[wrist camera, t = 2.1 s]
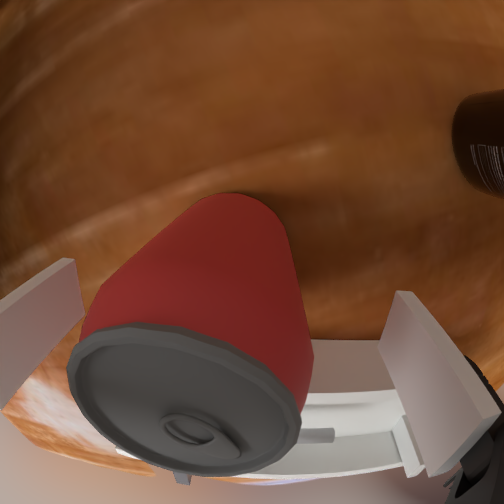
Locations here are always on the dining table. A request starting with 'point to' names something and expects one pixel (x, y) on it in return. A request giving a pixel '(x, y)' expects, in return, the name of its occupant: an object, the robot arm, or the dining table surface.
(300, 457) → the white open tray
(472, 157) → the supplement bottle
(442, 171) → the dining table surface
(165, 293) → the beer can
